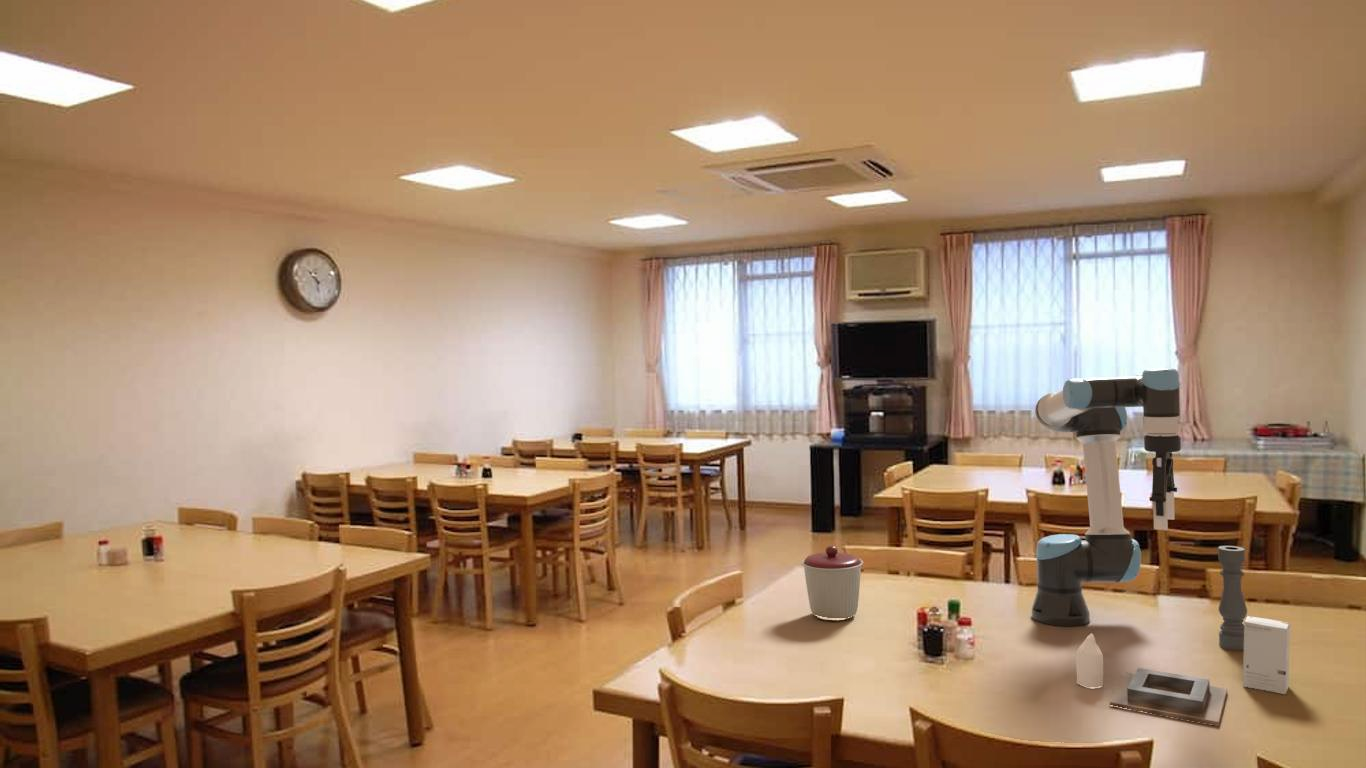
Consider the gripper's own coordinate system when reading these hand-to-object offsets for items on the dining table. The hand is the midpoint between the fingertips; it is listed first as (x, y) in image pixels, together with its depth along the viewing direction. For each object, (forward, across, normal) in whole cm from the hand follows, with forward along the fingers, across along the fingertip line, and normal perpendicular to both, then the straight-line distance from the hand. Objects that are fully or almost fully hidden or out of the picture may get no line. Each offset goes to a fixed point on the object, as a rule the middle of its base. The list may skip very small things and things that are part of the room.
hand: (1164, 524), depth 204 cm
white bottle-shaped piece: (+35, -18, +14) cm, 42 cm away
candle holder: (+35, +25, -12) cm, 44 cm away
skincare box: (+35, -1, -19) cm, 40 cm away
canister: (+35, +2, +88) cm, 94 cm away
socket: (+35, -19, -2) cm, 40 cm away
